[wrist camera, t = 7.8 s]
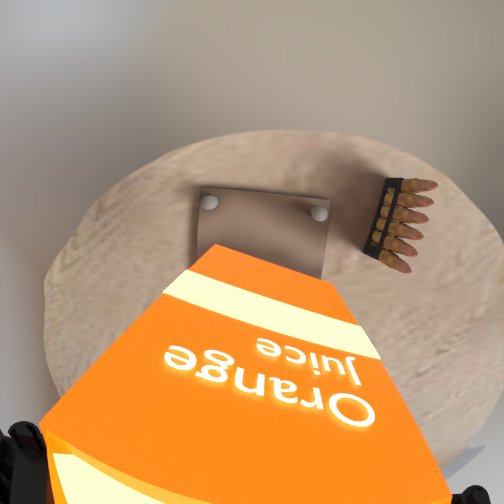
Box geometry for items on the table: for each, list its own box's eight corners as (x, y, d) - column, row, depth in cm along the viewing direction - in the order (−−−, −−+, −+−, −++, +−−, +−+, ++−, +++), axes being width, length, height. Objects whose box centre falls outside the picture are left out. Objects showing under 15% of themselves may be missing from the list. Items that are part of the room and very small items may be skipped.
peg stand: (310, 323, 38) (314, 339, 33) (196, 311, 39) (188, 324, 34) (328, 200, 34) (336, 201, 30) (203, 187, 35) (194, 186, 31)
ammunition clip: (374, 256, 35) (414, 283, 24) (362, 252, 35) (400, 278, 24) (397, 182, 33) (446, 180, 22) (386, 177, 33) (432, 172, 22)
